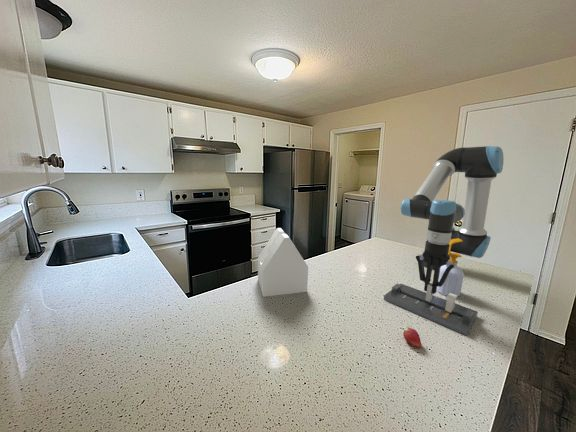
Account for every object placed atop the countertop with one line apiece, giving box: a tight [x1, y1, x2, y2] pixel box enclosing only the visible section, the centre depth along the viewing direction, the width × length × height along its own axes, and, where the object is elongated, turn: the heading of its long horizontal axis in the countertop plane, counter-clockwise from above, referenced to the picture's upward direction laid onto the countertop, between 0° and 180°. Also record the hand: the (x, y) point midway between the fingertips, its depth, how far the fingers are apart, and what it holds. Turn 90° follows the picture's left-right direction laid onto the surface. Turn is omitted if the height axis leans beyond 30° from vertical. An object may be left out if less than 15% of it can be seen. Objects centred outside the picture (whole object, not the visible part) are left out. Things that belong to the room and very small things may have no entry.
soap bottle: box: [436, 238, 465, 298], centre depth 102 cm, size 9×9×25 cm
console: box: [383, 283, 479, 336], centre depth 92 cm, size 16×28×4 cm, turn 42°
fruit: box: [402, 326, 423, 349], centre depth 72 cm, size 4×6×5 cm
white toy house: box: [257, 227, 309, 298], centre depth 104 cm, size 19×15×25 cm
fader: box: [445, 293, 458, 312], centre depth 86 cm, size 5×2×5 cm, turn 132°
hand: (428, 299), depth 92 cm, fingers closed
